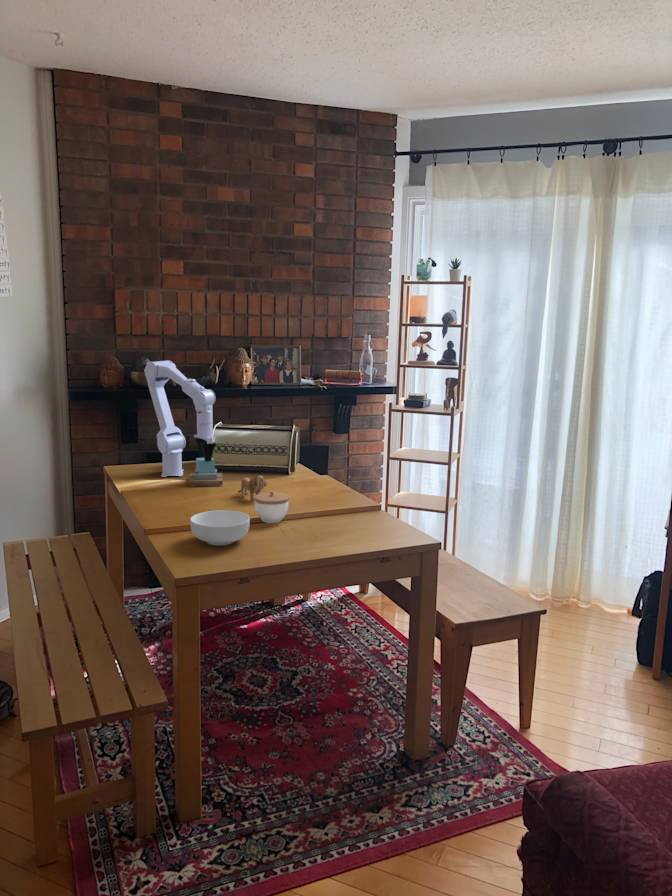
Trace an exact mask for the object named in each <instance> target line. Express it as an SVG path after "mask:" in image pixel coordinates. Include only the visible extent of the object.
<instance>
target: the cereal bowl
mask: <svg viewBox="0 0 672 896" xmlns="http://www.w3.org/2000/svg"><path fill="white" fill-rule="evenodd" d="M189 522H190V530H191V532H192V534H193V535H194V537H196V539H199V540H201V541H202V542H206V544H208V545H211V546H219V547H220V546H229V545H231V544H233V543H234V542H236V541H238V540H240V539H242V538H244V537H245V536H246V535H247V533H248V531H249V529H250V522H251V519H250V516H249V515H248V514H247V513H245V512H242V511H237V510H229V509H227V510H226V509H225V510H224V509H222V510H221V509H219V510H208V511H204V512H199V513H196V514H194V515H192V516H191V517H190V521H189Z"/></svg>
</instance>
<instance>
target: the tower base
mask: <svg viewBox="0 0 672 896" xmlns="http://www.w3.org/2000/svg"><path fill="white" fill-rule="evenodd" d="M188 485H189V486H204V487H221V486H220V485H223V472H218V469H217V468H215V473H205V474H199V473H198V472H196V469H195V470H194V473H189V480H188ZM189 486H188V487H189Z"/></svg>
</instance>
